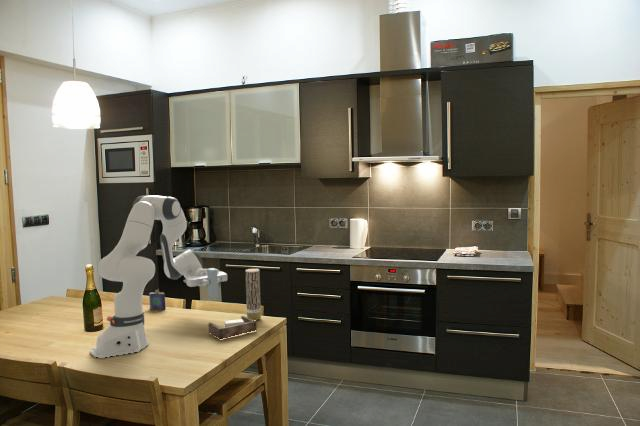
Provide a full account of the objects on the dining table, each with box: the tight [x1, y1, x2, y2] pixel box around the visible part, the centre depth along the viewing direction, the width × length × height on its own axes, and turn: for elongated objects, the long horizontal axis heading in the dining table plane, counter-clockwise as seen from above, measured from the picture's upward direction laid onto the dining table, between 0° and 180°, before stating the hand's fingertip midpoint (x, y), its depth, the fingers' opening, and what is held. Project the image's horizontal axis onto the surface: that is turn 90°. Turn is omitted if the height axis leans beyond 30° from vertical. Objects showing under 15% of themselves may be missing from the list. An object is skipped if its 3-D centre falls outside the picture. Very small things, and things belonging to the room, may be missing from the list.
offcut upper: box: [224, 318, 244, 328], centre depth 226 cm, size 8×4×3 cm, turn 110°
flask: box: [148, 289, 166, 311], centre depth 271 cm, size 9×3×11 cm, turn 76°
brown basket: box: [207, 315, 257, 340], centre depth 227 cm, size 18×12×5 cm, turn 127°
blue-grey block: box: [206, 267, 220, 300], centre depth 242 cm, size 3×5×14 cm, turn 37°
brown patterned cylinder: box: [245, 268, 262, 321], centre depth 247 cm, size 7×7×25 cm
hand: (213, 282), depth 241 cm, fingers closed on blue-grey block, 3 cm apart
